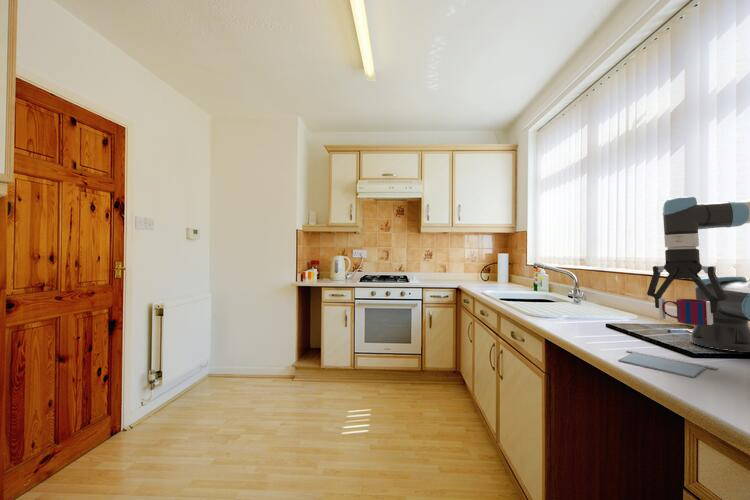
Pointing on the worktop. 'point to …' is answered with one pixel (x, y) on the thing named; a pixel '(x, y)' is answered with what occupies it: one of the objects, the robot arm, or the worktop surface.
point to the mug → (689, 311)
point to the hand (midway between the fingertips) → (685, 321)
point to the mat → (663, 364)
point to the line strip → (674, 360)
